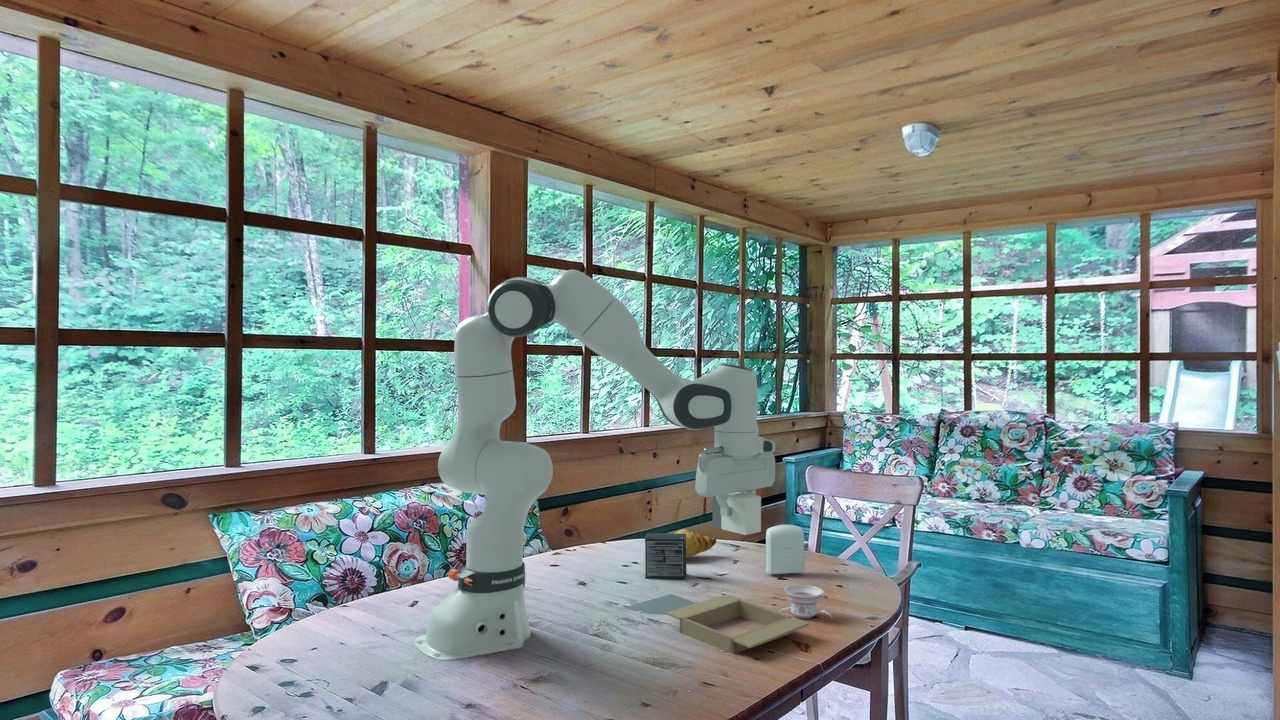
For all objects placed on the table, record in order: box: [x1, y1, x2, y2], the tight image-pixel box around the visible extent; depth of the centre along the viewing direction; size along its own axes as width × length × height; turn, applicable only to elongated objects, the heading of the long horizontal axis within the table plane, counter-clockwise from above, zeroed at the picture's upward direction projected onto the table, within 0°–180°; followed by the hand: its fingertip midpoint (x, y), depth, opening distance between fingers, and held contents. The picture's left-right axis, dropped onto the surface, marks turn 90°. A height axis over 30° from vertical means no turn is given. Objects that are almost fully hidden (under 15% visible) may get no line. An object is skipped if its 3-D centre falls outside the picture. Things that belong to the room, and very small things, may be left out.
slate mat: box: [625, 593, 697, 616], centre depth 161 cm, size 14×13×1 cm
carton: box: [665, 594, 810, 655], centre depth 145 cm, size 18×23×4 cm
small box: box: [644, 532, 687, 580], centre depth 187 cm, size 11×6×10 cm, turn 84°
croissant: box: [673, 528, 717, 558], centre depth 206 cm, size 21×10×8 cm
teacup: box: [777, 584, 833, 620], centre depth 156 cm, size 12×12×6 cm
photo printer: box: [765, 524, 805, 575], centre depth 190 cm, size 10×4×12 cm, turn 99°
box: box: [711, 492, 762, 536], centre depth 145 cm, size 4×9×7 cm, turn 40°
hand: (736, 513), depth 145 cm, fingers closed on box, 4 cm apart
